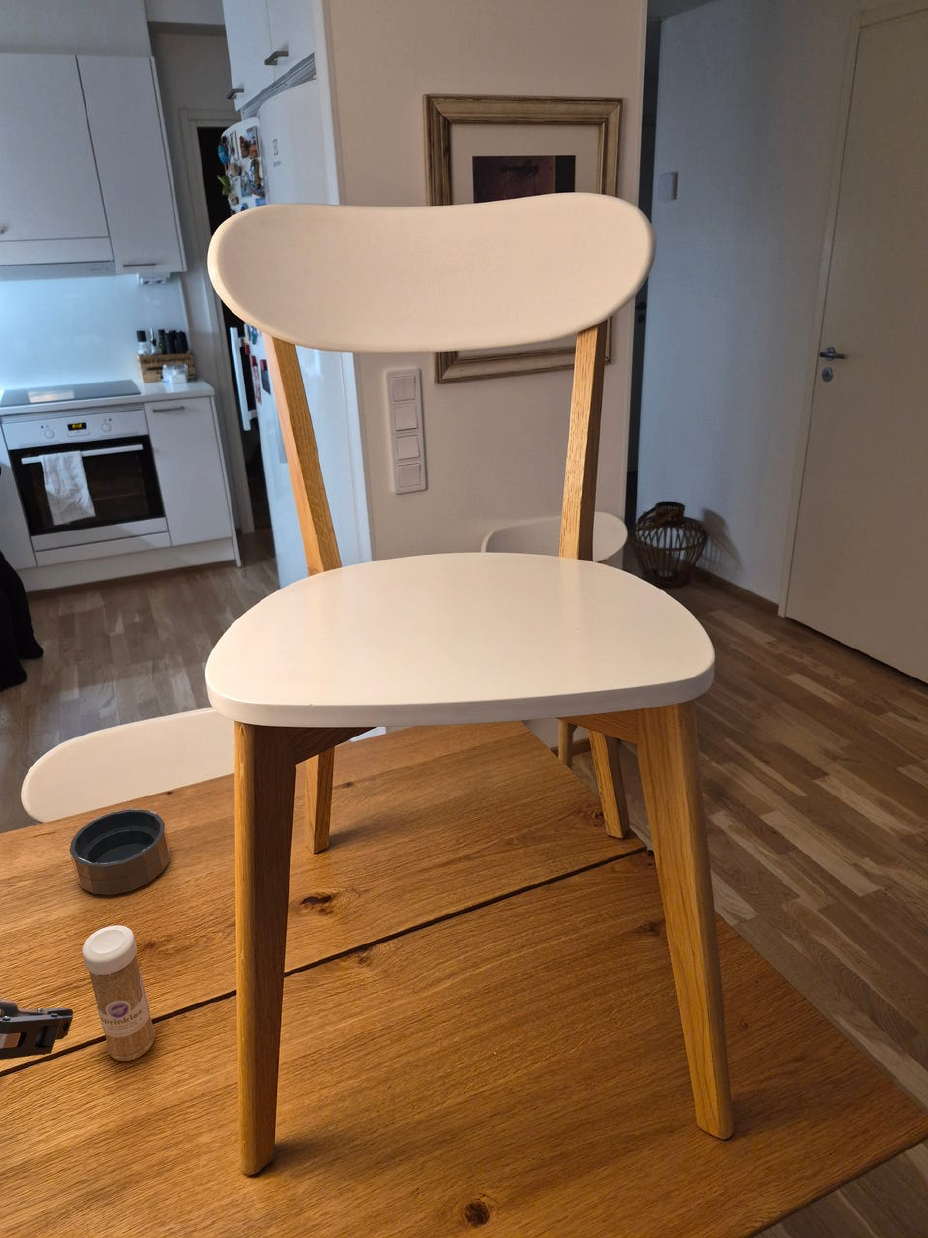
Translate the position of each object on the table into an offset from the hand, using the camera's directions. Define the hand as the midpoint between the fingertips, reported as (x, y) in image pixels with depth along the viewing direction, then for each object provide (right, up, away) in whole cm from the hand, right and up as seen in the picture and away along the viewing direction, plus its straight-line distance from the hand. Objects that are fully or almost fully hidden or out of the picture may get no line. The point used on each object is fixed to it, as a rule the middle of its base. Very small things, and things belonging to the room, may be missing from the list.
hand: (22, 1011), depth 67 cm
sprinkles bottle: (+3, -10, +15) cm, 19 cm away
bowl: (-8, 0, +39) cm, 40 cm away
